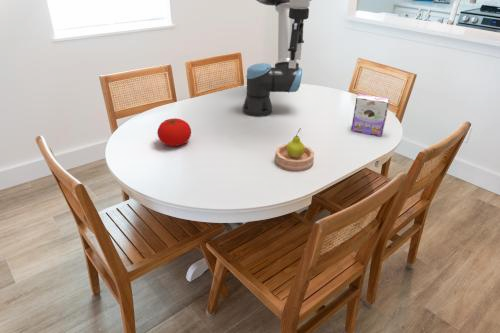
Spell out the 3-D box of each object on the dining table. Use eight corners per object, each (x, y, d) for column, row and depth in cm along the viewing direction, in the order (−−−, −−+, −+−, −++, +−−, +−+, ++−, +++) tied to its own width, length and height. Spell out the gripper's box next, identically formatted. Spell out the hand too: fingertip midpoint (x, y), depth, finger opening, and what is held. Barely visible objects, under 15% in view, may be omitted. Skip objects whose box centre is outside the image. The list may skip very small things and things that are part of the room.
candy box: (383, 132, 172) (390, 98, 164) (381, 137, 167) (388, 102, 159) (352, 126, 177) (358, 93, 168) (350, 131, 172) (356, 97, 164)
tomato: (180, 133, 167) (178, 111, 161) (198, 143, 159) (196, 120, 154) (152, 143, 158) (149, 120, 153) (169, 154, 150) (167, 130, 145)
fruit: (290, 162, 142) (293, 134, 136) (282, 154, 147) (284, 126, 141) (306, 159, 145) (309, 131, 138) (297, 151, 150) (300, 124, 144)
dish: (271, 167, 142) (272, 158, 140) (278, 150, 155) (279, 141, 153) (310, 173, 139) (312, 164, 137) (315, 155, 152) (316, 146, 150)
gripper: (304, 12, 130) (299, 72, 141) (312, 3, 151) (307, 56, 162) (283, 11, 132) (280, 71, 143) (294, 2, 152) (290, 55, 163)
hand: (294, 63), depth 152 cm, fingers open, 13 cm apart
